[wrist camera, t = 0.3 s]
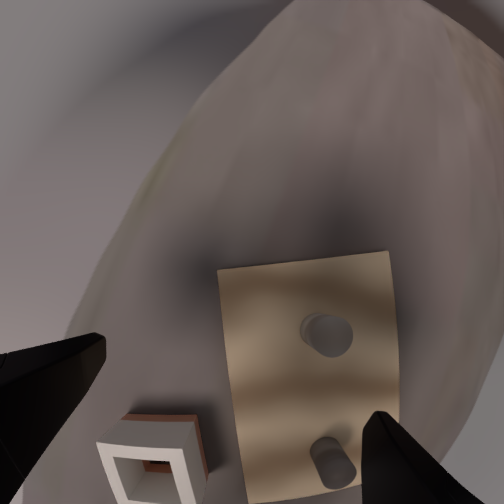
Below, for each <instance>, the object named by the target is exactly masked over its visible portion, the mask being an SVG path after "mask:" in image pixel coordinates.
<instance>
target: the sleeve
mask: <svg viewBox="0 0 504 504" xmlns="http://www.w3.org/2000/svg"><path fill="white" fill-rule="evenodd" d="M96 444H97V447H98V451H99V454H100V457H101V460H102V463H103V466H104V469H105V472H106V474H107V477H108V480H109V482H110V485H111V488H112V490H113V493H114V495H115V498H116V500H117V502H118V504H202V503H203V498H204V493H205V489H206V484H207V480H208V475H209V472H208V468H207V463H206V459H205V454H204V449H203V444H202V439H201V433H200V428H199V423H198V417H197V414H195V415H148V414H126V415H125V416H124V417H123V418H122V419H121V420H119V421H118V422H117V423H116V424H115V425H114V426H113V427H112V428H111V429H110V430H109V431H108V432H106V433H105V434H104V435H103V436H102V437H101V438H100V439H99V440H98V441H97V442H96ZM149 460H155V461H170V464H153V463H150V461H149Z"/></svg>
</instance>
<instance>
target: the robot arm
mask: <svg viewBox="0 0 504 504" xmlns="http://www.w3.org/2000/svg"><path fill="white" fill-rule="evenodd" d="M105 360H106V338H105V337H104V336H103V335H100V334H98V333H95V332H93V333H89V334H85V335H81V336H77V337H73V338H69V339H65V340H61V341H57V342H52V343H48V344H44V345H40V346H35V347H31V348H27V349H22V350H18V351H13V352H9V353H8V354H7V353H4V354H0V504H9V503H10V502H11V500H12V499H13V497H14V495H15V494H16V492H17V491H18V489H19V488H20V486H21V485H22V483H23V482H24V480H25V479H26V477H27V476H28V474H29V473H30V471H31V470H32V468H33V467H34V465H35V464H36V463H37V461H38V460H39V458H40V457H41V455H42V454H43V453H44V451H45V450H46V448H47V447H48V445H49V444H50V443H51V441H52V440H53V438H54V437H55V436H56V434H57V433H58V432H59V430H60V429H61V427H62V426H63V425H64V423H65V422H66V421H67V419H68V418H69V416H70V415H71V414H72V412H73V411H74V410H75V408H76V407H77V406H78V404H79V403H80V402H81V400H82V399H83V398H84V396H85V395H86V393H87V392H88V390H89V388H90V386H91V385H92V383H93V381H94V380H95V378H96V376H97V374H98V373H99V371H100V369H101V368H102V366H103V364H104V363H105ZM361 483H362V503H363V504H484V503H483V502H482V501H480V500H479V499H478V498H477V497H475V496H474V495H473V494H471V493H470V492H469V491H468V490H467V489H465V488H464V487H463V486H462V485H461V484H460V483H458V481H457V480H455V479H454V478H453V477H452V476H451V475H450V474H449V473H447V471H446V470H445V469H444V468H443V467H442V466H441V465H440V464H439V463H438V462H437V461H436V460H435V459H434V458H433V457H432V456H431V455H430V454H429V453H428V452H427V451H426V450H425V449H424V448H423V447H422V446H421V445H420V444H419V443H418V442H417V441H416V440H415V439H414V438H413V437H412V436H411V435H410V434H409V433H408V432H407V431H406V430H405V429H404V428H403V427H402V426H401V425H400V424H399V423H398V422H397V421H396V420H395V419H394V418H393V417H392V416H391V415H390V414H389V413H388V412H386V411H375V412H374V413H373V414H372V415H371V417H370V418H369V420H368V421H367V423H366V424H365V426H364V428H363V431H362V453H361Z"/></svg>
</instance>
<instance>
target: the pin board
mask: <svg viewBox="0 0 504 504" xmlns="http://www.w3.org/2000/svg"><path fill="white" fill-rule="evenodd" d="M217 274H218V284H219V294H220V304H221V313H222V322H223V331H224V339H225V348H226V356H227V364H228V372H229V379H230V387H231V394H232V402H233V409H234V416H235V423H236V429H237V436H238V443H239V449H240V455H241V462H242V468H243V474H244V480H245V486H246V491H247V497H248V503H249V504H254V503H265V502H274V501H282V500H289V499H296V498H302V497H307V496H313V495H318V494H323V493H327V492H332V491H336V490H340V489H344V488H348V487H352V486H356V485H359V484H362V483H361V453H362V431H363V428H364V426H365V424H366V423H367V421H368V420H369V418H370V417H371V415H372V414H373V413H374V412H375V411H386V412H388V413H389V414H390V415H391V416H392V417H393V418H394V419H395V420H396V421H397V422H398V423H399V350H398V332H397V319H396V307H395V297H394V288H393V280H392V272H391V265H390V258H389V252H388V251H382V252H373V253H365V254H357V255H348V256H340V257H331V258H323V259H314V260H305V261H296V262H287V263H278V264H269V265H260V266H251V267H241V268H232V269H222V270H217Z"/></svg>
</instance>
